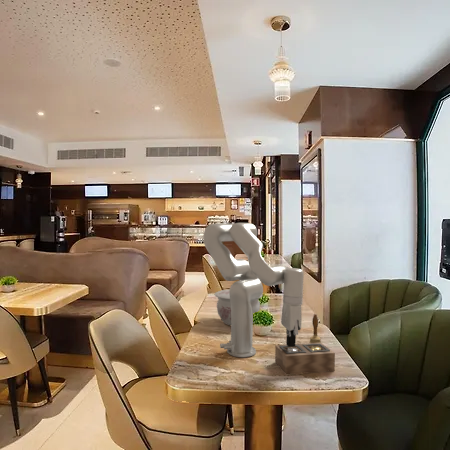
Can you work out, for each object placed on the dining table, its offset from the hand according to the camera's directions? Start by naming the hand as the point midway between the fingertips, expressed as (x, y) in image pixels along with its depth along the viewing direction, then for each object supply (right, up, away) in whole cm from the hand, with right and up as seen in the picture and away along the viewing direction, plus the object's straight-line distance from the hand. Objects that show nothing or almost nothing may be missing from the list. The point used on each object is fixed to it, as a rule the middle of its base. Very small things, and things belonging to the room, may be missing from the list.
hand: (290, 345), depth 140 cm
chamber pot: (-19, -8, +60) cm, 63 cm away
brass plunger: (+10, -9, +2) cm, 14 cm away
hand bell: (+15, -9, +20) cm, 26 cm away
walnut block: (+5, -9, +1) cm, 10 cm away
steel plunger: (+1, -9, 0) cm, 8 cm away
